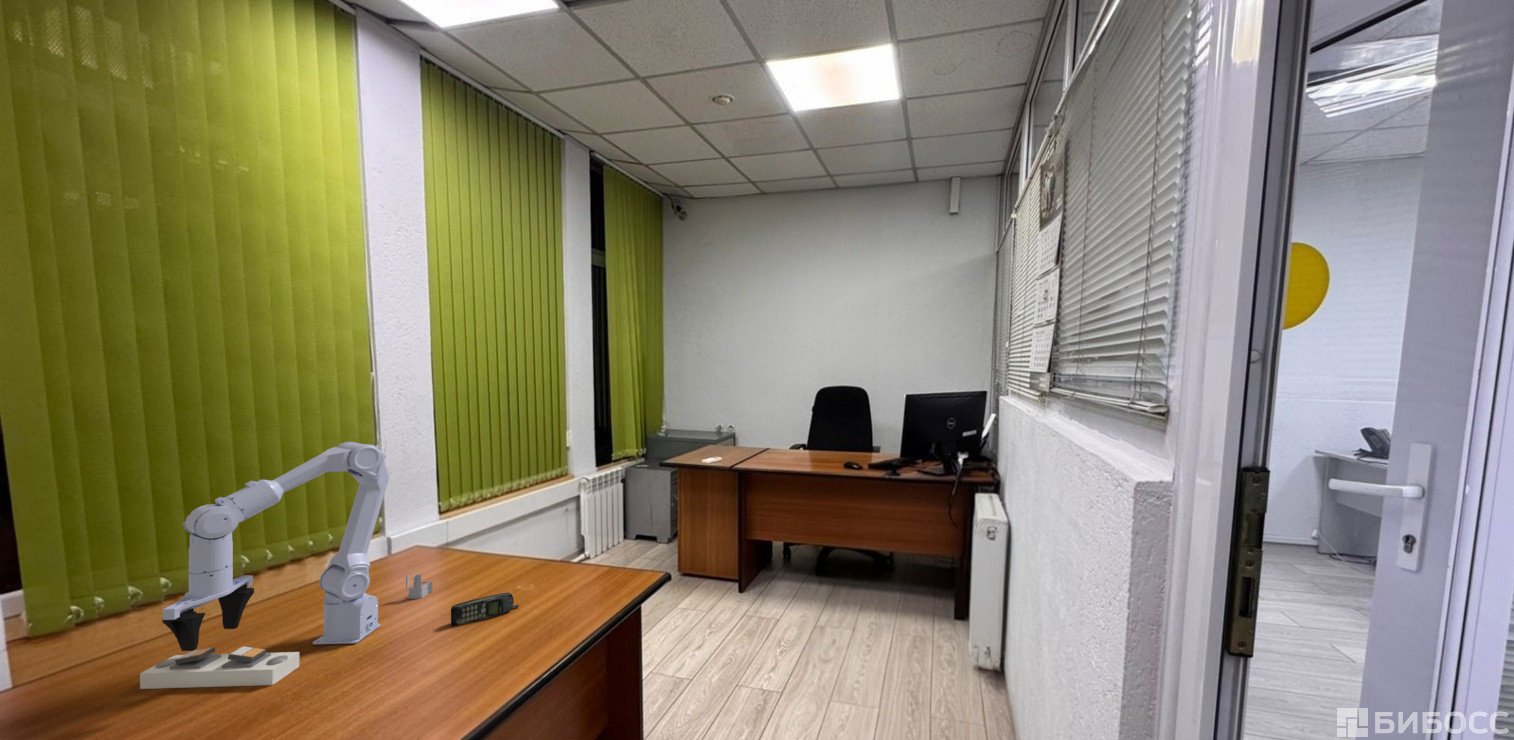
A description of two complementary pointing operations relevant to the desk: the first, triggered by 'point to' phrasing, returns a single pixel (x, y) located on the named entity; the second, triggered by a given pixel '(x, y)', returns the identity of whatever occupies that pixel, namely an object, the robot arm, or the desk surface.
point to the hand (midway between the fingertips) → (210, 638)
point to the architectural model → (418, 587)
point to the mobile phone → (481, 608)
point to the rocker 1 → (195, 655)
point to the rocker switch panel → (219, 671)
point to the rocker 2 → (246, 654)
